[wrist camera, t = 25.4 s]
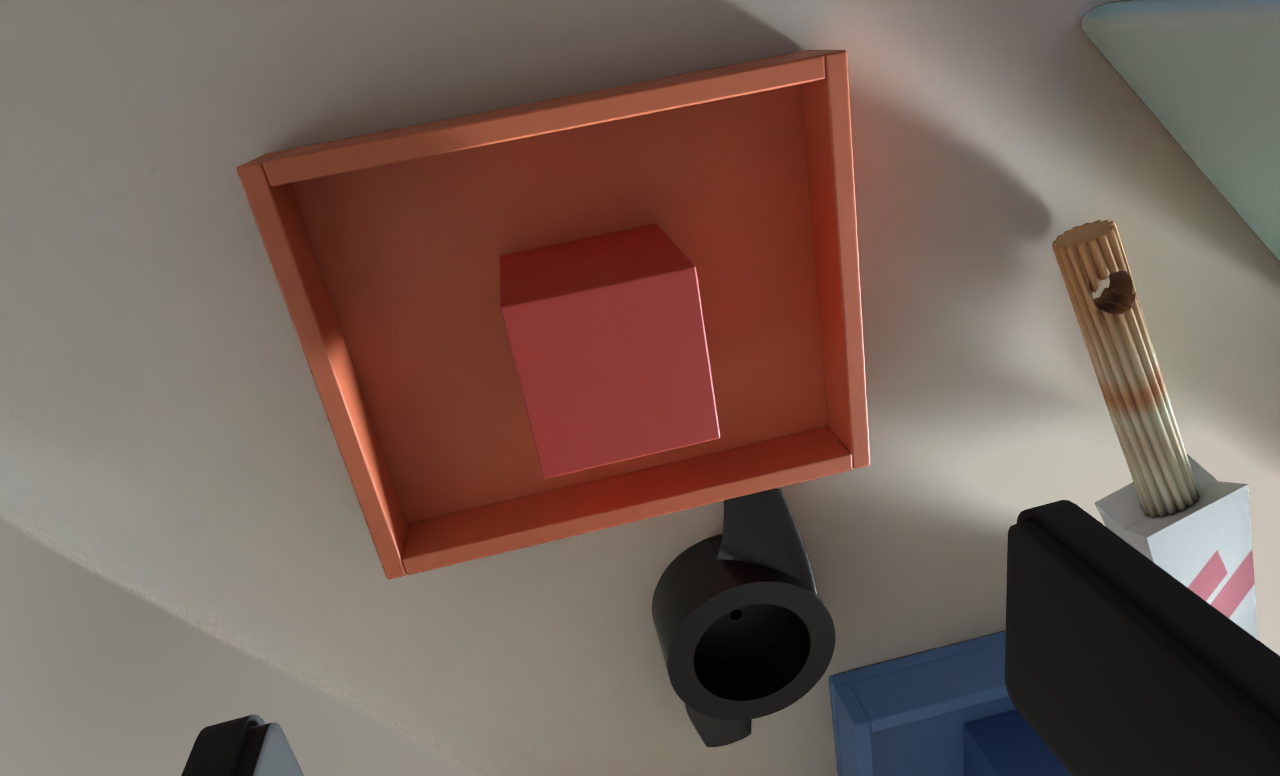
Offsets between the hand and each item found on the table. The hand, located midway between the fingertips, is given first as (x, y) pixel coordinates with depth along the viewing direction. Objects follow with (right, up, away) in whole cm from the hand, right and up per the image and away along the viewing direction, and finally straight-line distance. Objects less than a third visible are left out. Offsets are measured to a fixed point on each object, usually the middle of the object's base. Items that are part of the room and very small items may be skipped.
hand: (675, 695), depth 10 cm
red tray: (-2, +6, +14) cm, 16 cm away
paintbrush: (+18, +1, +20) cm, 26 cm away
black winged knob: (+3, -4, +20) cm, 20 cm away
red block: (-2, +6, +14) cm, 15 cm away
